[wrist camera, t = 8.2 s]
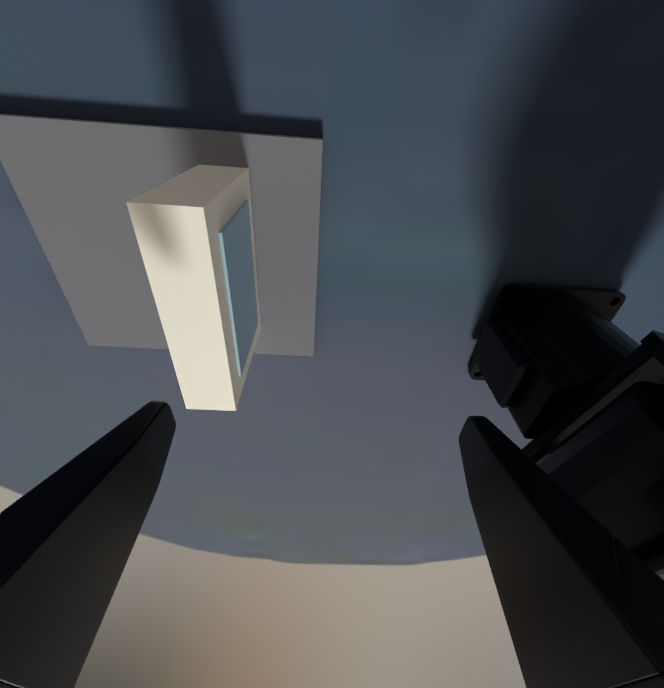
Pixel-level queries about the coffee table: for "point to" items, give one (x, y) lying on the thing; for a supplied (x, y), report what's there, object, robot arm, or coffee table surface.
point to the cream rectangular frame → (203, 278)
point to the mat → (117, 229)
